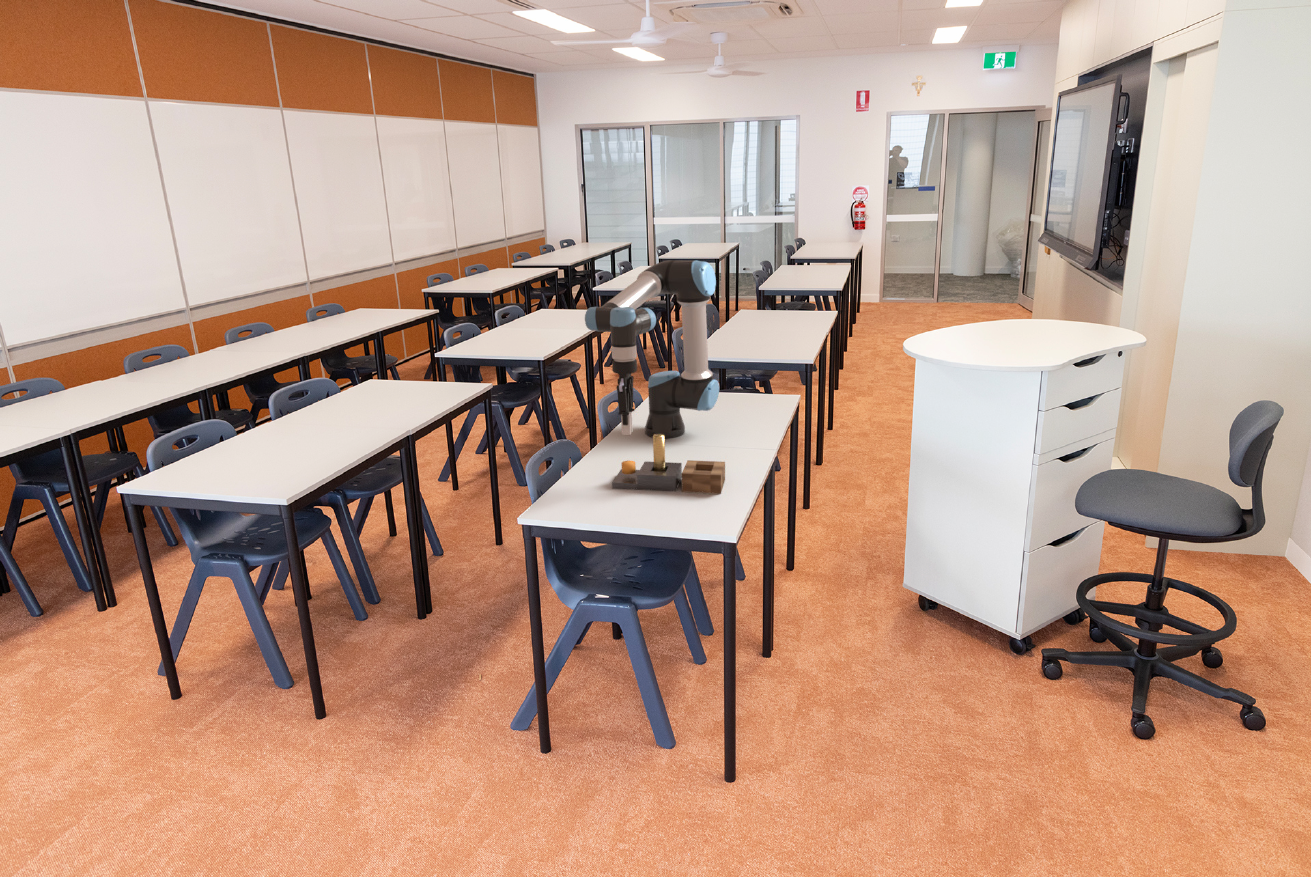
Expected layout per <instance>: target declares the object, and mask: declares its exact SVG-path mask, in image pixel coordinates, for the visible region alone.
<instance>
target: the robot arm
mask: <svg viewBox="0 0 1311 877" xmlns="http://www.w3.org/2000/svg"><path fill="white" fill-rule="evenodd" d="M716 279H717V278H716V274H715V270H714V268H713V266H711V264H710V263H709V262H707V261H700V260H673V259H671V260H663V261H661V262H658V263H655V264H654V265H651V266H650V267H649V266H648V267H647V268H646V269H645V270H643V271H641V273H639V274H638V275H637V278H636V280H635V281H633V282H632V283H631V284H629V285H628V286H627V287H625V288H624V289H623V290H622V291H620V292H619V293H618V294H616V295H615V296H613V298H610V299H609V300H608V301H606V302H605V303H604V304H603V305H602V306H592V307H591V306H590V307H589V308H587V309H586V311H585V314H584V323H585V326H586V328H587V329H588V331H589V330H590V331H595V332H598V333H599V332H602V333H603V332H606V333H610V340H611V343H610V344H611V345H610V346H611V347H610V349H609V352H611V358H612V359H613V360H612V362H611V363H612V364H611V365H612V366H611V368H612V372H613V373H614V374H618V378H617V384H616V388H615V389H616V391H617V402H618V413H617V414H618V416H620V418H621V419H620V420H621V421H620V422H621V424H620V425H621V436H622V435H623V436H624V435H625V436H627V435H628V436H629V435H632V433H633V430H634V429H633V412H635V408H634V379H635V377H634V375H632V374H634V373H636V372H637V371H638V360H637V359H636V358H637V357H638V354H637V336H640V335H642V334H647V333H649V332H650V331H651V330H653V329H654V328H655V326H656V324H657V318H656V314H655V312H654V311H653V310H652V309H651V308H648V307H640V306H642V305H643V304H644V303H645V302H647V301H648V300H649V299H650V298H651V299H653V298H656V297H658V296H659V295H676V302H677V303H678V304H679V305H680V306H681V321H682V324H681V325H682V340H683V341H682V344H683V345H682V346H683V361H684V362H683V367H684V371H682V373H680V372H679V371H677V370H665V371H661V372H660V371H659V372H656V373H654V374H651V375H650V376H649V377H648V383H647V384H648V386H647V390H648V411H649V413H648V417H647V418H646V423H645V426H644V432H645V435H646V436H649V437H651V438H653V435H654V434H664V435H665V439H669V438H671V437H672V438H677V437H680V436H682V435H684V434H685V433H686V427H685V424H684V419H683V418H682V415H681V409H684V410H685V409H686V410H694V411H698V412H702V411H703V412H705V411H706V412H708V411H711V410H712V409H713V408H714V407H715V405H716V403H717V401H718V398H719V393H720V383H719V381H718V380H717V379H714V375H713V374H714V373H713V372H712V371H711V370H710V369H709V356H708V355H709V353H708V352H709V351H708V329H707V328H708V326H707V303H708V302H709V301H710V300H711V296H713V294H715V290H716V287H717V280H716ZM639 307H640V308H639Z"/></svg>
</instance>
